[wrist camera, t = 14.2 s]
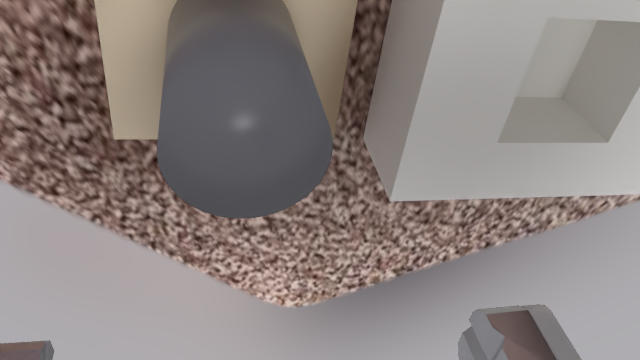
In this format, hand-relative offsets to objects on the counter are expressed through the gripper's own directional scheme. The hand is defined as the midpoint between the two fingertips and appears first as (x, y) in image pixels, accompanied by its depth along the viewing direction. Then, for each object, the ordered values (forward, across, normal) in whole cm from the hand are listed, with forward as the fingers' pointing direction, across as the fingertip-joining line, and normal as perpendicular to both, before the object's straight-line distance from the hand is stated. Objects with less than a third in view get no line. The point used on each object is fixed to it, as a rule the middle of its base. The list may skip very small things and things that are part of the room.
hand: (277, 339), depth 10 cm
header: (+16, -14, 0) cm, 21 cm away
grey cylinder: (+14, 0, 0) cm, 14 cm away
